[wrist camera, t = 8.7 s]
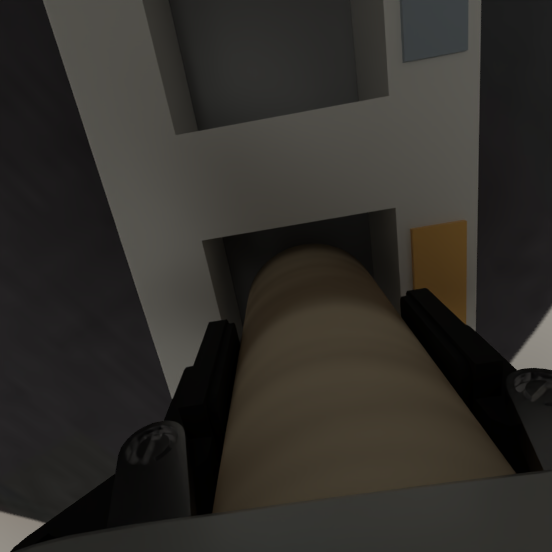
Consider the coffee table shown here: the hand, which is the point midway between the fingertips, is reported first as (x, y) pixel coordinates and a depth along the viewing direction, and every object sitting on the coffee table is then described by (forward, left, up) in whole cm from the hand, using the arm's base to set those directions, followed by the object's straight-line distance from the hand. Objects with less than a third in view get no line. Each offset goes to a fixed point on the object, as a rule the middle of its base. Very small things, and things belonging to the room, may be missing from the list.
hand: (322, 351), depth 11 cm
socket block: (-5, 0, -8) cm, 9 cm away
